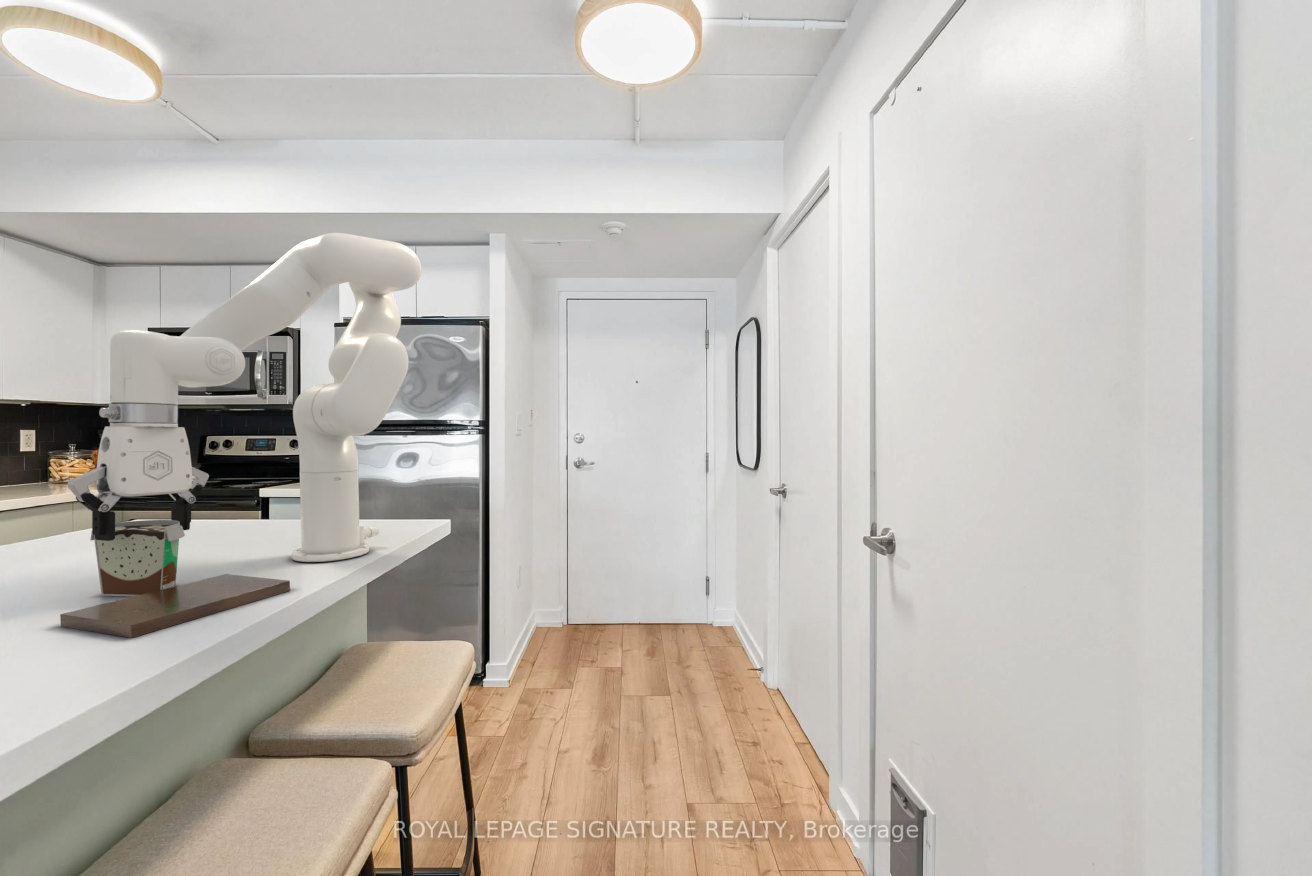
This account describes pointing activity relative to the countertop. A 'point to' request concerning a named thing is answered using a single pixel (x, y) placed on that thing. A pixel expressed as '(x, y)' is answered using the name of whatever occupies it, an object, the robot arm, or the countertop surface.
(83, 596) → the countertop surface
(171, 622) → the cutting board
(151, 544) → the food container
